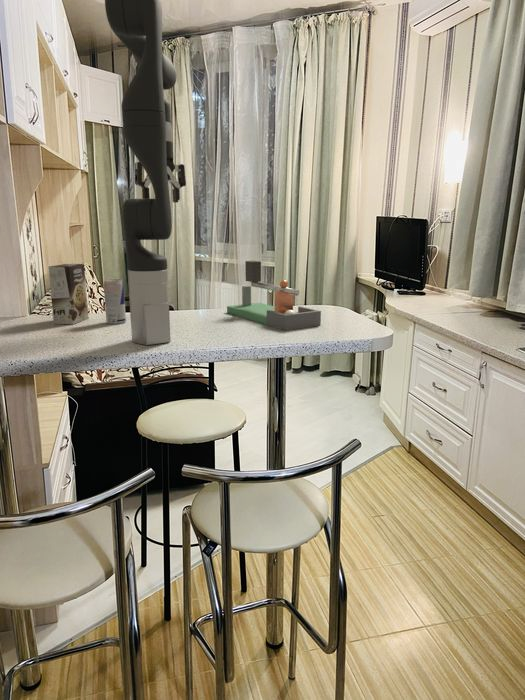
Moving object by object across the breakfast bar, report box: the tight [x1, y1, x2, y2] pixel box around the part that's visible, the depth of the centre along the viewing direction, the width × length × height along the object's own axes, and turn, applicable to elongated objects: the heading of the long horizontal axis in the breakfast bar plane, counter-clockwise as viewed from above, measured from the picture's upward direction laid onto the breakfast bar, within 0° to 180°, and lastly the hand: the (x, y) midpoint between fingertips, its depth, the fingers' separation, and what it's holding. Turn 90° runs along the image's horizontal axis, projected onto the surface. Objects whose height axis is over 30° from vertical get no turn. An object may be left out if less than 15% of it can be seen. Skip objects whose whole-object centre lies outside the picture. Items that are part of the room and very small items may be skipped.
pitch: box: [226, 285, 322, 331], centre depth 153 cm, size 31×12×8 cm, turn 34°
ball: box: [284, 309, 297, 315], centre depth 146 cm, size 4×4×4 cm
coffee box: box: [48, 263, 89, 325], centre depth 148 cm, size 9×6×16 cm
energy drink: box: [103, 278, 127, 325], centre depth 147 cm, size 5×5×12 cm
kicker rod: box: [244, 260, 300, 314], centre depth 152 cm, size 24×5×14 cm, turn 34°
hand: (161, 202), depth 147 cm, fingers open, 8 cm apart
